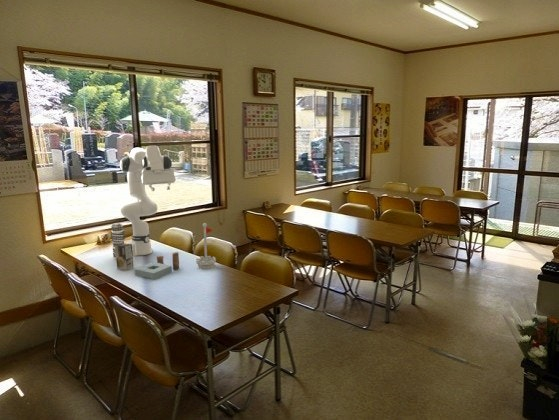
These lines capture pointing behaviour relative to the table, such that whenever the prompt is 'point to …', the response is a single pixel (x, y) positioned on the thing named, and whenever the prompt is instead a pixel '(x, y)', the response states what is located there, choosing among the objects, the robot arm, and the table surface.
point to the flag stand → (207, 261)
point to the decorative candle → (117, 236)
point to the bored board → (153, 270)
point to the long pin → (175, 260)
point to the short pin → (160, 259)
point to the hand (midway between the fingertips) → (161, 190)
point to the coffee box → (124, 256)
